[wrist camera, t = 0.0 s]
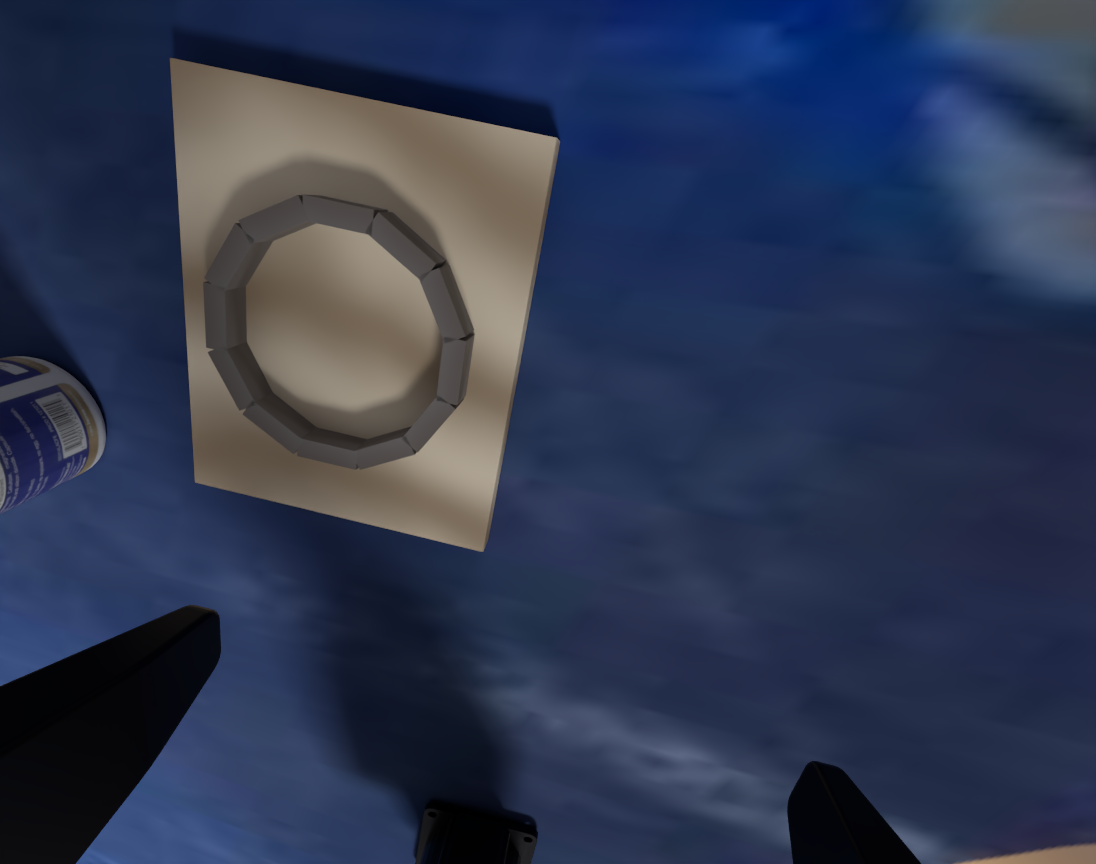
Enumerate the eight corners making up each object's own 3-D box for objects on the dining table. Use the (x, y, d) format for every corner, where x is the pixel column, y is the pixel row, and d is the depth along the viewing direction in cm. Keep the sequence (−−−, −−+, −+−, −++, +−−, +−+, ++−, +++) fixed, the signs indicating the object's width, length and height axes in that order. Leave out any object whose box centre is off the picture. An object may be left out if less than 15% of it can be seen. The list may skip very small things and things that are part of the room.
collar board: (488, 539, 25) (476, 568, 23) (210, 472, 25) (174, 495, 23) (559, 141, 19) (552, 132, 17) (191, 65, 19) (140, 47, 17)
